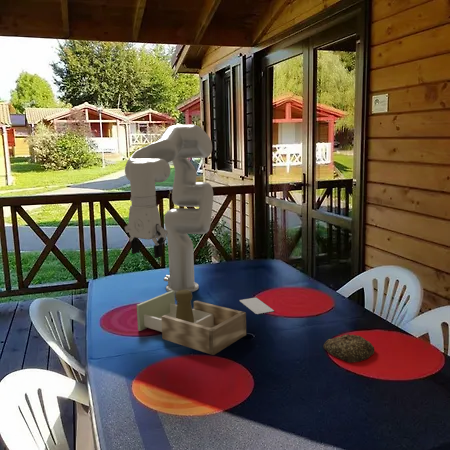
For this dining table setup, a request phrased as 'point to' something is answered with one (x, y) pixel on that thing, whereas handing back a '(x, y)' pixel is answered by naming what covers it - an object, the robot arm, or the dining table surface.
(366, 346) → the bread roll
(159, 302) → the drawer
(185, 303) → the cork
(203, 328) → the caddy
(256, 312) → the smartphone
